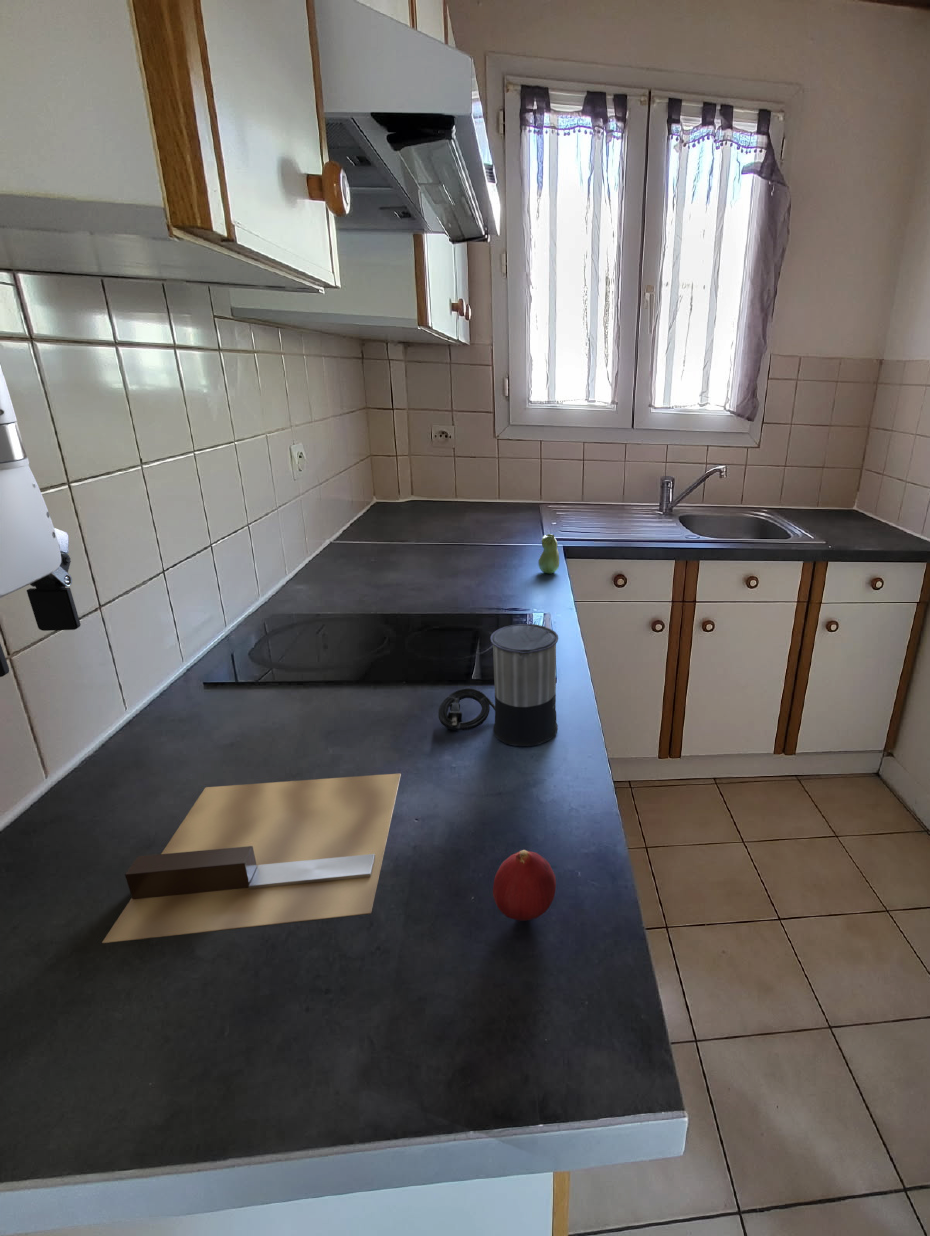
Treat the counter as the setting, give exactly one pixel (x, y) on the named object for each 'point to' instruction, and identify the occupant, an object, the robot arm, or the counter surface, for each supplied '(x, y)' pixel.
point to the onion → (524, 886)
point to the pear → (549, 555)
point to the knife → (233, 872)
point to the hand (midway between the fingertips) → (25, 650)
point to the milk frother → (515, 688)
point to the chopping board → (274, 854)
